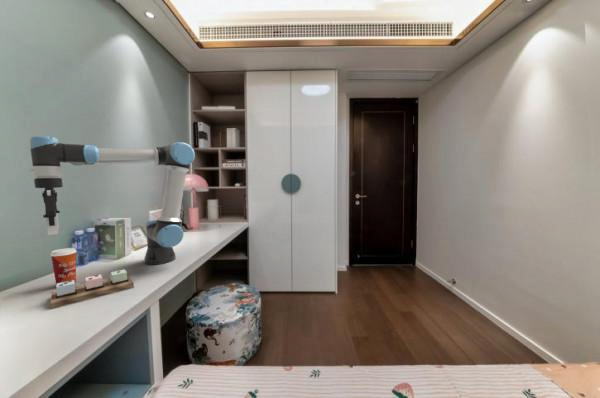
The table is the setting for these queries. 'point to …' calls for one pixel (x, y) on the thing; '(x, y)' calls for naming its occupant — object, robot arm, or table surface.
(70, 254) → the coffee cup
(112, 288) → the wooden tray
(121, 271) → the key one
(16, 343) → the table surface
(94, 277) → the key two
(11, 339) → the table surface
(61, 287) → the key three
